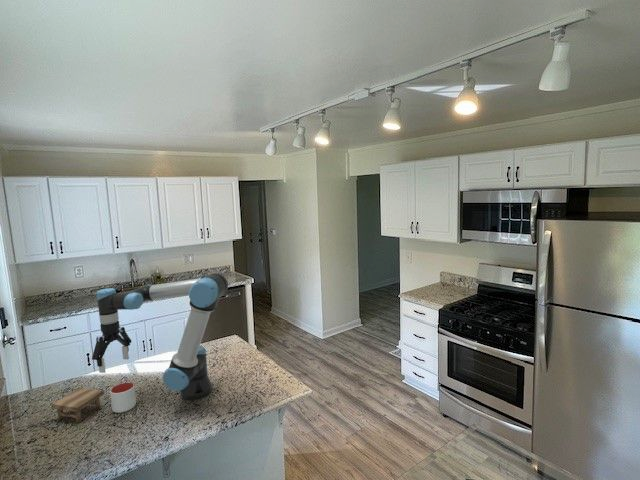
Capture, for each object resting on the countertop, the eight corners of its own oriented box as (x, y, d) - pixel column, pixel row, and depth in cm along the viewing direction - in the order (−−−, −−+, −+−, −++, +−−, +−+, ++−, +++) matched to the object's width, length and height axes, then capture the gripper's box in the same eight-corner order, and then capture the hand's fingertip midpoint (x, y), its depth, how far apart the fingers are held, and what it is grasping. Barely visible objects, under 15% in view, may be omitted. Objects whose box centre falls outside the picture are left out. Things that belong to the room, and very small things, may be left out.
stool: (105, 406, 166) (103, 390, 166) (78, 424, 153) (76, 407, 152) (81, 403, 170) (79, 387, 169) (53, 421, 156) (51, 404, 155)
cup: (125, 415, 159) (123, 394, 158) (106, 413, 161) (104, 392, 160) (141, 402, 169) (139, 383, 168) (123, 400, 171) (121, 381, 170)
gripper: (124, 313, 176) (128, 353, 178) (78, 331, 152) (84, 377, 154) (136, 313, 174) (141, 354, 176) (92, 332, 150) (98, 379, 152)
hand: (114, 365), depth 165 cm, fingers open, 13 cm apart
